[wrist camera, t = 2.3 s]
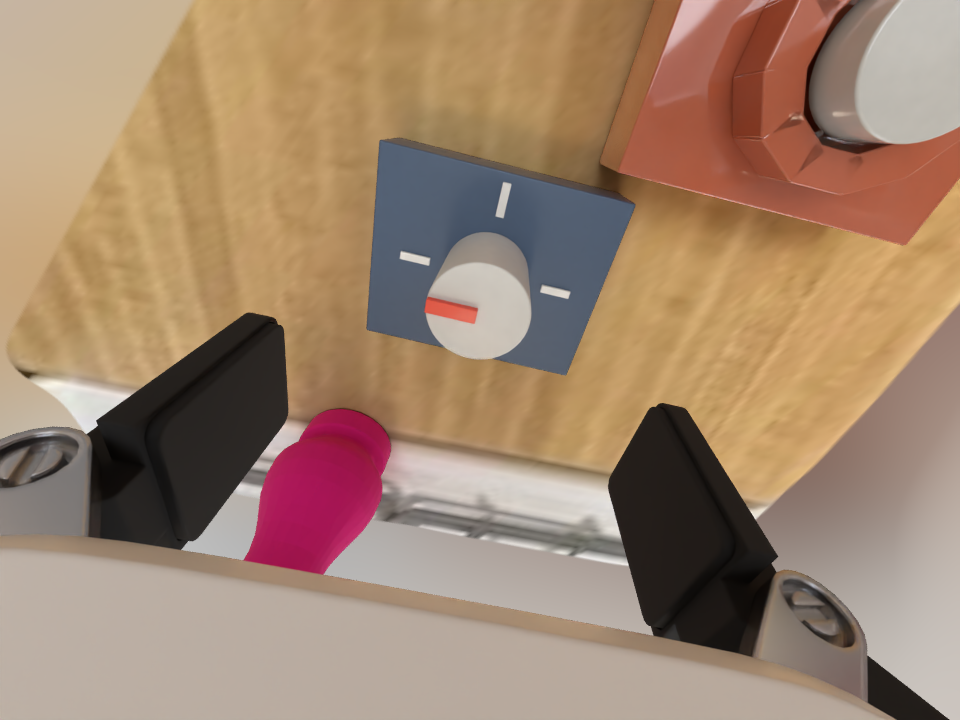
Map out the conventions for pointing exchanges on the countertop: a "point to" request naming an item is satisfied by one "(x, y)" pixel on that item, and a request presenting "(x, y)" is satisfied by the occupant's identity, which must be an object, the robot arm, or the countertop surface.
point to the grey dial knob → (480, 297)
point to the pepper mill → (321, 492)
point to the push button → (889, 73)
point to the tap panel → (497, 209)
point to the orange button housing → (764, 121)
